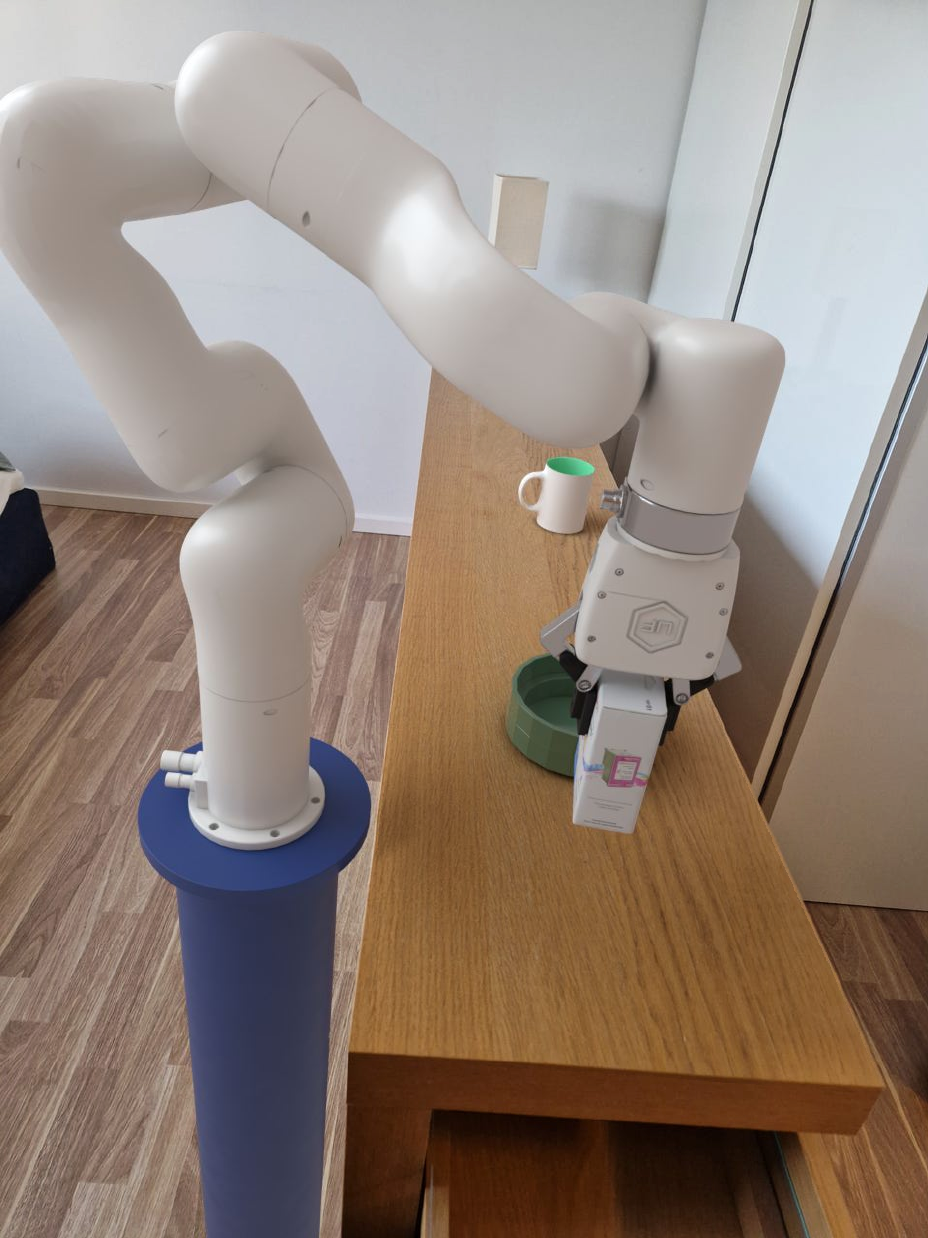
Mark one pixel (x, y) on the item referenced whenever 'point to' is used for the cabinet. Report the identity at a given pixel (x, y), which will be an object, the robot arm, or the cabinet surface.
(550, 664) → the bowl
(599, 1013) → the cabinet surface
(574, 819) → the ink box
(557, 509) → the mug
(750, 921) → the cabinet surface
